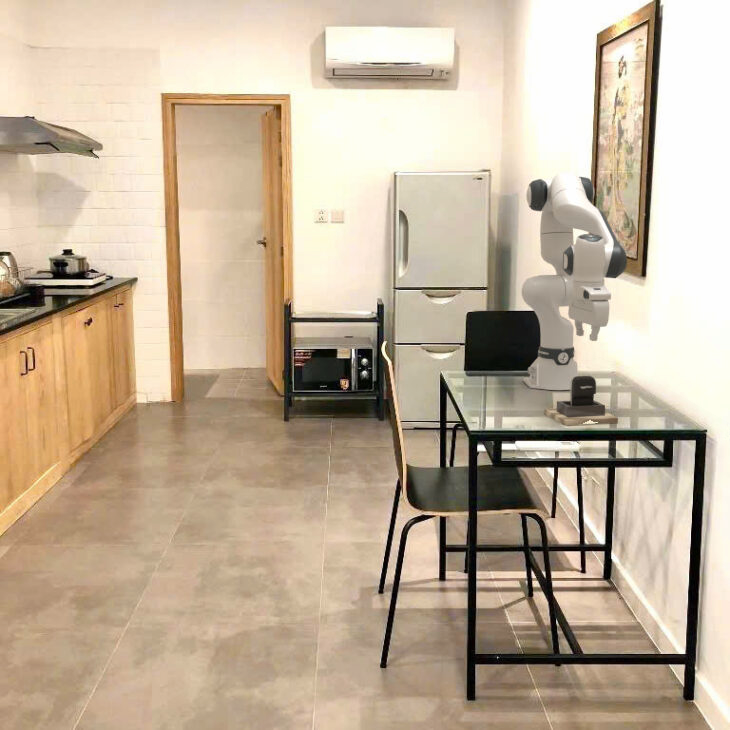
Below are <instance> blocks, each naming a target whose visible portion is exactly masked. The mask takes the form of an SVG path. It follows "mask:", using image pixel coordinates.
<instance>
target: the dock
mask: <svg viewBox="0 0 730 730" xmlns="http://www.w3.org/2000/svg"><path fill="white" fill-rule="evenodd" d="M570 405H571V401H570V400H561V401H559V400H558V401H556V408H544V410H543V411H544V412H543V414H544V415H546V416H547V417H549V418H550V419H552V420H555V421H556V422H558V423H560V424H561V425H563V426H565V427H569V426H568V425H573V426H580V425H579V424H583V423H585V422H587V421H589V420H591V421H593V422H598V423H609V424H618V423H619V417H617V416H615V415H613V414H611V413H609V412H607V411H606V405H605V404H602V403H600V402H598V401H597V400H595V399H594V400H593V405H586V406H570Z"/></svg>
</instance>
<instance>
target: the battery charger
mask: <svg viewBox="0 0 730 730" xmlns="http://www.w3.org/2000/svg"><path fill="white" fill-rule="evenodd" d="M596 381H597V380H596V378H595V377H593V376H591V375H587V374H585V375H578V376H574V377H573V378H572V379H571V387H570V390H569V391H570V396H569V397H570V398H569V399H570V400H569V401H571V405H570V406H586V405H593V400H594V401H595V399H594V397H595V395H597V382H596Z"/></svg>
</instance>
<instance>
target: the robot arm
mask: <svg viewBox="0 0 730 730" xmlns="http://www.w3.org/2000/svg"><path fill="white" fill-rule="evenodd" d="M593 184H594V183H593V181H592V180H591V179H590V178H588V177H586V176H585V177H584V176H578V175H577V174H576V173H574V172H573V171H562V172H559V173H558V174H556V175H555V176H554V177H550V178H545V179H542V178H538V179H536V180H533V181H531V182H530V183H529V184H528V187H527V190H526V195H525V196H526V201H527V204H528V207H529V208H530V209H531V210H532V211H535V212H541V214H540V215H541V216H540V217H541V218H540V224H539V225H540V226H539V227H540V228H539V235H540V237H539V238H540V256H541V258H542V260H543V261H544V262H545V263H547V264H549V265H552V267H553V268H554V271H555V273H556V274H542V275H541V274H540V275H535V276H531V277H528V278H526V279H525V280H524V282H523V284H522V287H521V296H522V299H523V301H524V302H525V304H526V305H527V306H528V307H530V308H531V309H532V310H533V311H534V313H535V315H536V317H537V319H538V324H539V328H540V329H539V330H540V346H538V351H537V358H536V359H535V360H534V361H533V362H532V364H530V366H529V367H527V374H529V377H528V376H527V377H524V378H523V379H522V380H523V382H524V383H525V384H526V385H527V386H528V388H530V389H540V390H548V391H550V390H551V391H568V390H569V391H570V387H571V379H572V378H573V377H574V376H579V375H578V372H579V371H578V362H576V361H575V359H574V357H575V352H576V351H575V347H574V330H575V335H576V336H577V337H584V335H585V334H584V333H585V330H584V329H583V328H584V327H583V324H585V325H589V326H590V330H591V333H590V334H589V340H590V341H591V342H597V341H598V335H599V333H600V331H601V328H602V327H603V328H604V327H607V326H608V323H609V319H610V302H609V301H610V300H611V299H612V293H611V291H609V289H608V288H607V286H606V285H605V279H617V278H618V277H620V276H621V275H622V274H623V273H624V272H625V271H626V269H627V266H628V256H627V253H626V250H625V249H624V248H623V246H622V245H621V243H620V242H619V241H618V239H617V237H616V235H615V233H614V231H613V229H612V227H611V225H610V223H609V221H608V219H607V217H606V216H605V214H604V213H603V211H602V210H601V209H599V208H597V207H596V206H595V205H593V201H594V198H595V187H594V185H593ZM574 229H575V230H579V231H584V232H586V233H584V234H579V235H578V236H577V237H576V240H575V241H574ZM574 242H575V244H574ZM560 307H562V308H563V307H564V308H565V307H568V313H567V315H568V318H569V319H570V320H574V324H573V323H572V321H570V320H569V319H568V318H567V317H563V316H562V315H561V312H560ZM574 326H575V329H574Z"/></svg>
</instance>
